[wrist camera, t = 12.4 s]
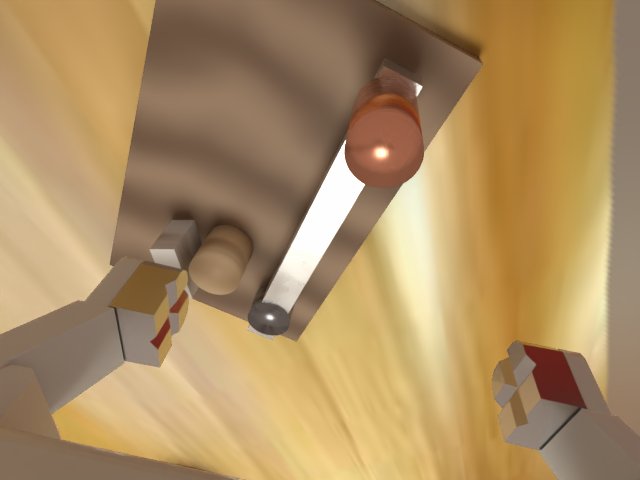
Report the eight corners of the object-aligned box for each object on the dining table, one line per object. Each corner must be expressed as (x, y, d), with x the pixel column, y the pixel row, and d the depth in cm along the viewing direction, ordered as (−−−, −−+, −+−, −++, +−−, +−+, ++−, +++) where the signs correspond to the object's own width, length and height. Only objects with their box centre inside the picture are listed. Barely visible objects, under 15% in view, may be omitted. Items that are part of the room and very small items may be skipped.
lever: (284, 323, 39) (261, 403, 32) (248, 308, 39) (218, 386, 32) (429, 79, 25) (442, 132, 18) (375, 51, 24) (368, 95, 18)
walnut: (244, 269, 37) (230, 301, 34) (201, 251, 36) (183, 282, 33) (259, 237, 34) (246, 268, 31) (214, 217, 34) (195, 246, 31)
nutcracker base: (299, 329, 43) (288, 375, 38) (118, 254, 40) (84, 294, 36) (479, 57, 26) (496, 83, 21) (185, -105, 23) (136, -115, 19)
